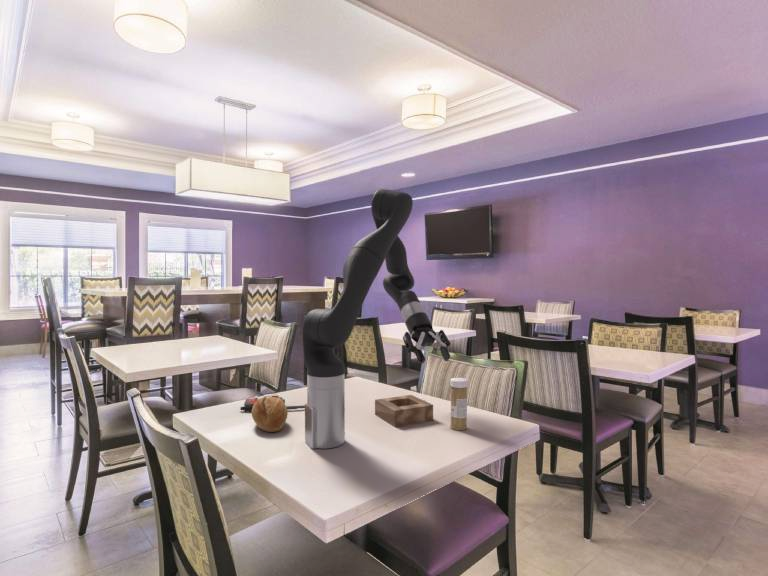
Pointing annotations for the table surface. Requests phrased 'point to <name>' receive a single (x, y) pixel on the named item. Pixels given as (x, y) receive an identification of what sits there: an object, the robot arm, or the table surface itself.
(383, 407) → the walnut bottle stand
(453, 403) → the sprinkles bottle
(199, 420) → the table surface
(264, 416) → the bread roll
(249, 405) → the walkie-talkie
